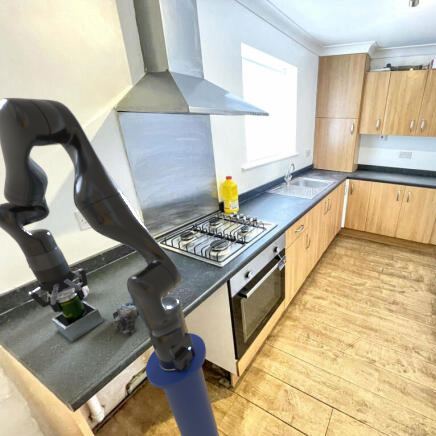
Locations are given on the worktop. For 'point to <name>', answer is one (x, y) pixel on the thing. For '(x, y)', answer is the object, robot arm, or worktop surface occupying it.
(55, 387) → the worktop surface
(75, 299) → the beer can
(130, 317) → the foil
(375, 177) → the worktop surface
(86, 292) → the garlic bulb
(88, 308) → the open square box
